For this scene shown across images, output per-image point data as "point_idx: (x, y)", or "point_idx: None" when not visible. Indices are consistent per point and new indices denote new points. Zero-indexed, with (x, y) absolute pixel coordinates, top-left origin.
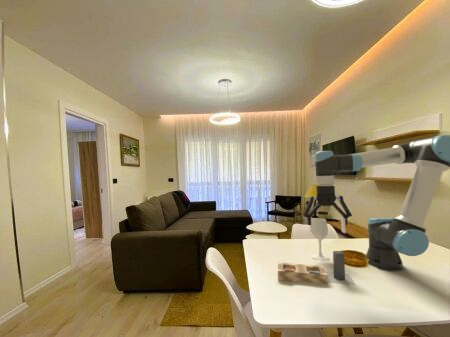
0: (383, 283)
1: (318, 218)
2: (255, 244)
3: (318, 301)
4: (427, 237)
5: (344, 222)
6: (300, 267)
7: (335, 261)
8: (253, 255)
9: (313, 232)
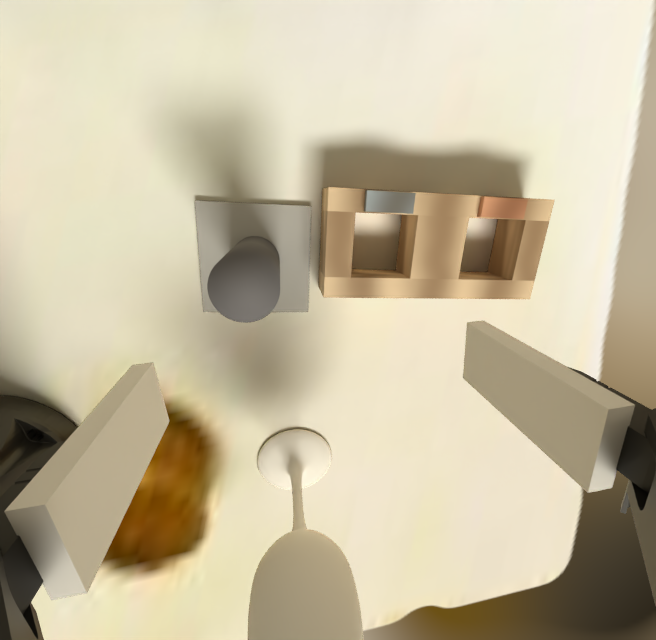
0: (59, 248)
1: None
2: (542, 531)
3: (397, 14)
4: None
5: (72, 445)
6: (438, 258)
7: (272, 257)
8: None
9: (347, 565)
